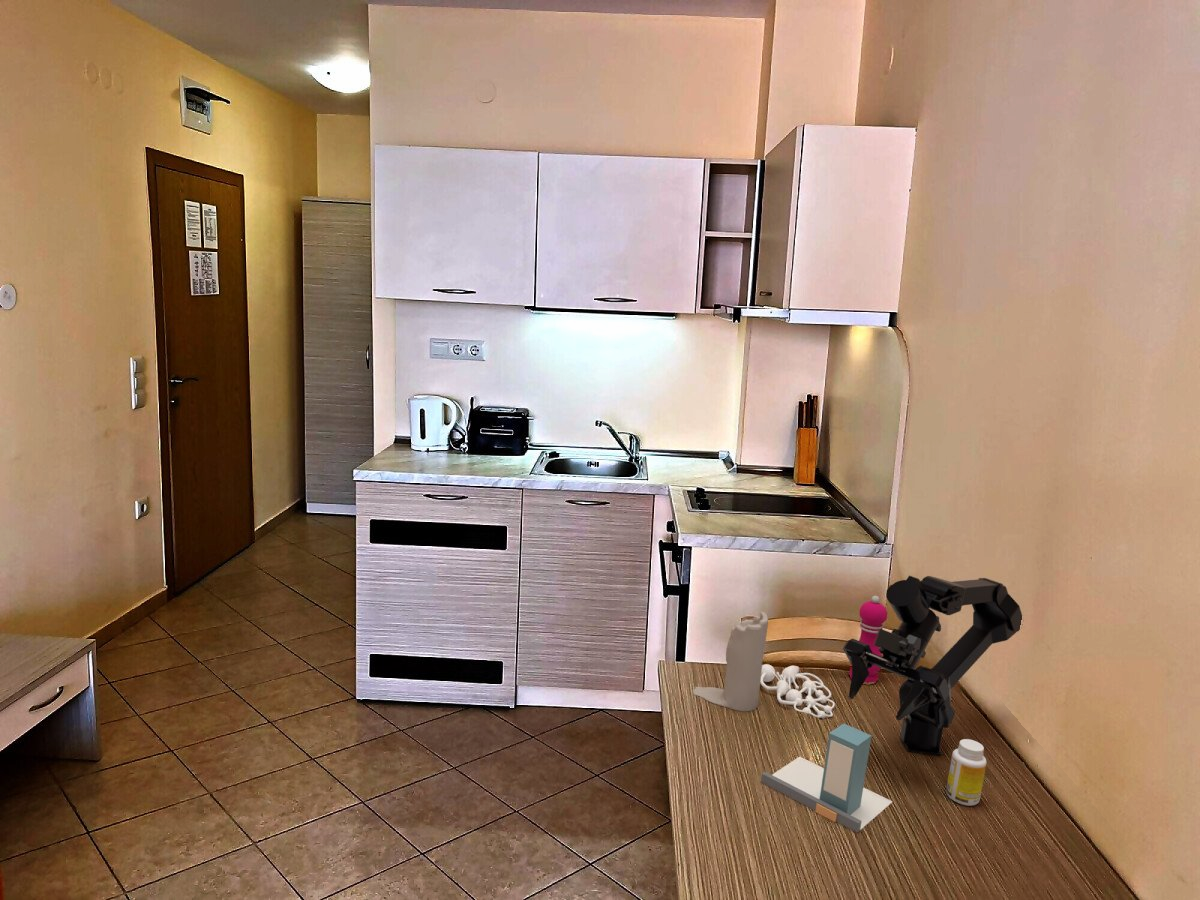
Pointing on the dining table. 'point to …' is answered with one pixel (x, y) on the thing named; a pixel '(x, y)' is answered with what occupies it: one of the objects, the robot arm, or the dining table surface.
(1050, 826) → the dining table surface
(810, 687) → the tangled rod sculpture
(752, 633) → the candle
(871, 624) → the pepper mill
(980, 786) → the supplement bottle
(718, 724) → the dining table surface
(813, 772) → the white base plate
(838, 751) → the carton
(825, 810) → the ticket
